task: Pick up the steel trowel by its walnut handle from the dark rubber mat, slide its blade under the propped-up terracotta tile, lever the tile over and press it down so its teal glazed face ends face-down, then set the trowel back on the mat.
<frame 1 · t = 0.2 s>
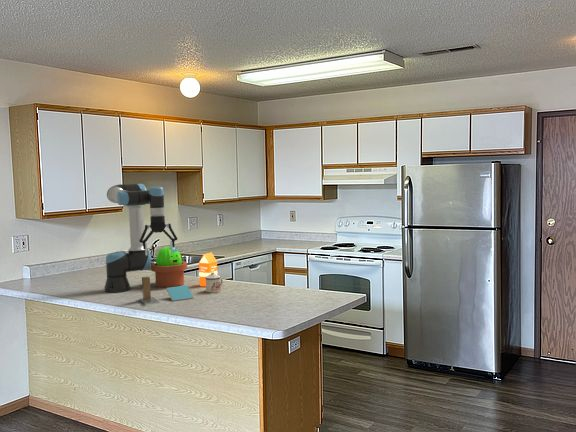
hand: (159, 254, 300), 27 cm above the counter, tool pointing down, fingers open, 13 cm apart
ceramic tile: (179, 293, 309), point 3 cm above the counter, hinge at 25.0°
steel trowel: (148, 301, 303), resting on rubber tool mat
tile spacer: (180, 299, 309), on the counter
orange juice: (208, 285, 346), on the counter
potted cactus: (170, 284, 350), on the counter
teacup with lid: (215, 291, 327), on the counter
rubber tool mat: (149, 302, 302), on the counter
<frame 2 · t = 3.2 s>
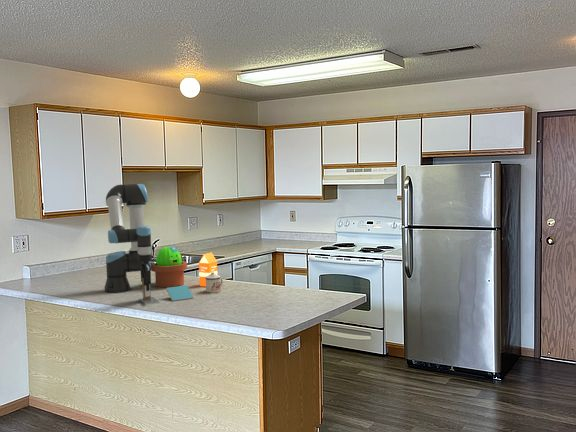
hand: (146, 295, 306), 3 cm above the counter, tool pointing down, fingers closed on steel trowel, 3 cm apart
steel trowel: (148, 301, 303), resting on rubber tool mat, touching gripper
everything else where it was.
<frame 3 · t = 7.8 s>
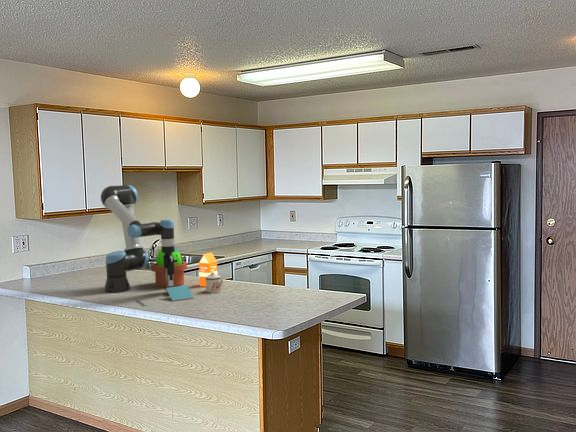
hand: (169, 284, 324), 5 cm above the counter, tool pointing down, fingers closed on steel trowel, 3 cm apart
steel trowel: (172, 290, 321), point 2 cm above the counter, touching gripper
everything else where it was.
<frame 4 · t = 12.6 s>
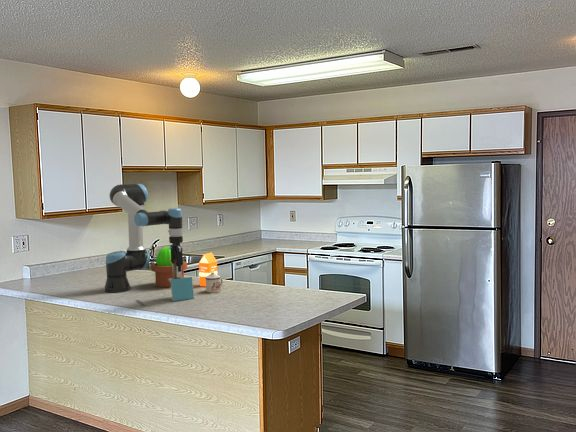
hand: (177, 275, 311), 13 cm above the counter, tool pointing down, fingers closed on steel trowel, 6 cm apart
ceramic tile: (182, 289, 305), point 7 cm above the counter, hinge at 80.1°, touching steel trowel
steel trowel: (178, 284, 311), point 8 cm above the counter, tilted 20°, touching ceramic tile, gripper
everything else where it was.
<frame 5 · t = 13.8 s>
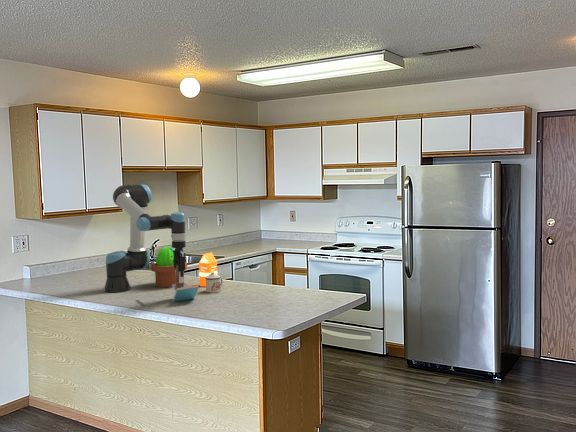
hand: (179, 281, 308), 10 cm above the counter, tool pointing down, fingers closed on steel trowel, 5 cm apart
ceramic tile: (185, 293, 300), point 5 cm above the counter, hinge at 136.1°, touching steel trowel
steel trowel: (181, 289, 306), point 6 cm above the counter, tilted 12°, touching ceramic tile, gripper
everything else where it was.
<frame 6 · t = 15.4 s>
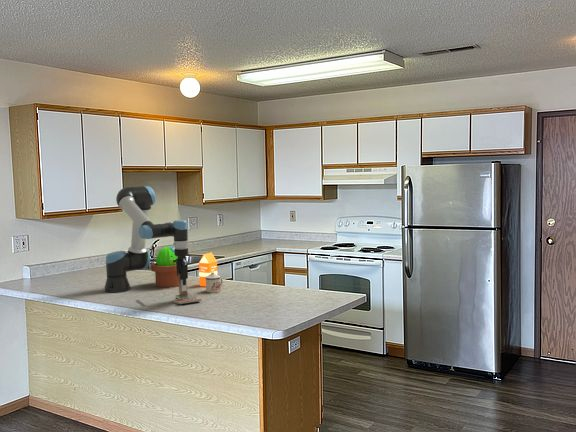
hand: (182, 290, 304), 6 cm above the counter, tool pointing down, fingers closed on steel trowel, 3 cm apart
ceramic tile: (186, 300, 299), point 1 cm above the counter, hinge at 172.8°, touching steel trowel
steel trowel: (185, 297, 301), point 3 cm above the counter, touching ceramic tile, gripper
everything else where it was.
when the fingers open (4 cm above the counter, at t = 20.1 s): steel trowel stays where it is, resting on rubber tool mat.
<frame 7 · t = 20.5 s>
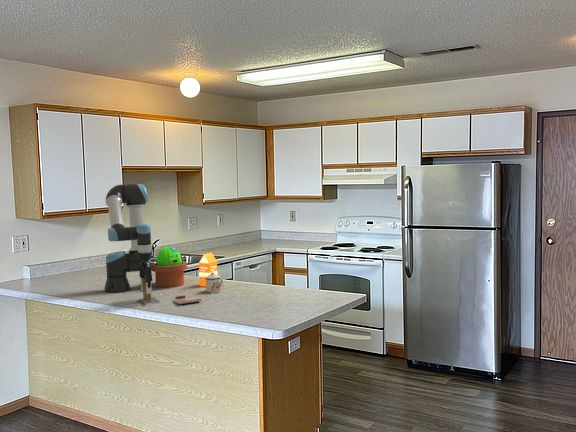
hand: (146, 291, 306), 5 cm above the counter, tool pointing down, fingers open, 10 cm apart
ceramic tile: (186, 300, 299), point 1 cm above the counter, hinge at 172.9°
steel trowel: (149, 301, 303), resting on rubber tool mat
everything else where it was.
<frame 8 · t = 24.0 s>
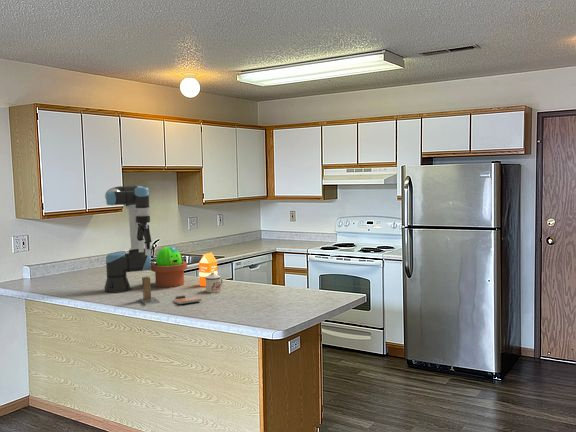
hand: (144, 253, 304), 27 cm above the counter, tool pointing down, fingers open, 13 cm apart
nothing on the counter moved.
at the end: ceramic tile at +173° (first picture: +25°); steel trowel inside the target area (1.0 cm from its centre), point 0.5 cm above the counter; the gripper is holding nothing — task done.
